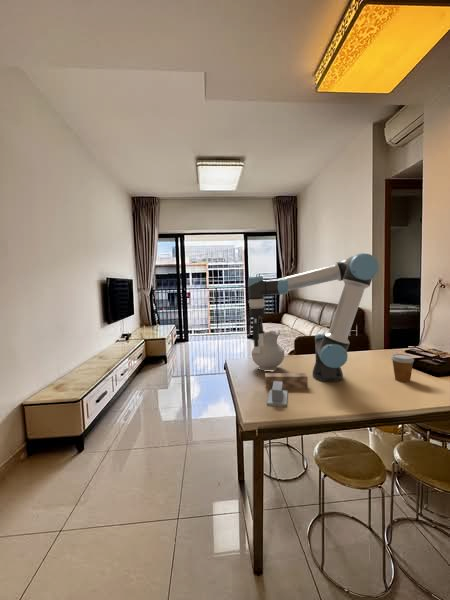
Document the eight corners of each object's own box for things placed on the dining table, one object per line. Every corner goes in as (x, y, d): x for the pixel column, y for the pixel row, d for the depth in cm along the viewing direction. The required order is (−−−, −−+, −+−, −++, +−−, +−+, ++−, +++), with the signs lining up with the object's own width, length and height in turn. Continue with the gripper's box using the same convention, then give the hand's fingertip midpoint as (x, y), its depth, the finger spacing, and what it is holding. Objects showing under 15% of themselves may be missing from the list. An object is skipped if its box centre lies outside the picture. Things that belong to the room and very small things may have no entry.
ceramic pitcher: (243, 370, 161) (239, 330, 157) (260, 360, 175) (258, 323, 172) (274, 378, 146) (271, 334, 143) (291, 366, 161) (288, 325, 158)
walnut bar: (305, 384, 133) (305, 372, 133) (307, 388, 128) (307, 376, 128) (265, 384, 135) (264, 373, 135) (265, 388, 130) (265, 376, 130)
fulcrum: (287, 392, 124) (287, 380, 123) (286, 406, 110) (286, 392, 110) (270, 391, 126) (269, 379, 126) (267, 405, 112) (266, 391, 112)
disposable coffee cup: (411, 377, 135) (412, 354, 135) (416, 384, 127) (416, 359, 126) (390, 375, 139) (389, 353, 139) (392, 382, 131) (392, 358, 130)
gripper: (253, 305, 146) (255, 343, 148) (244, 310, 122) (247, 355, 124) (267, 304, 144) (269, 343, 146) (261, 310, 120) (263, 356, 122)
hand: (259, 349), depth 135 cm, fingers open, 13 cm apart
